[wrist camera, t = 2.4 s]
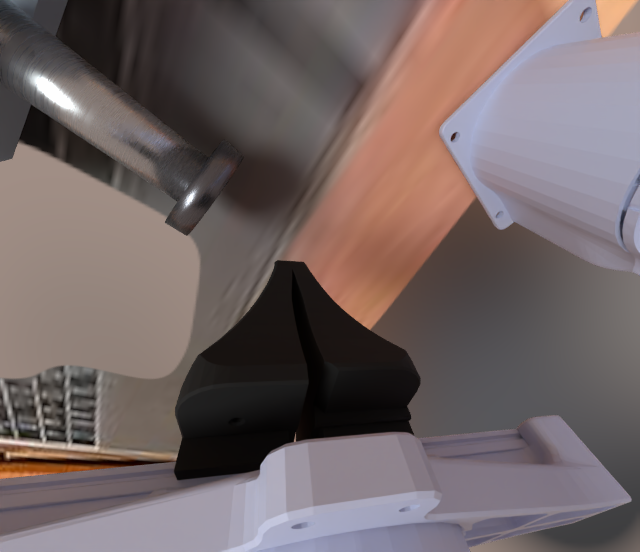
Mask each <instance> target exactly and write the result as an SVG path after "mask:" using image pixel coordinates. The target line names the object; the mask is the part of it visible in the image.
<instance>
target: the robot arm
mask: <svg viewBox="0 0 640 552" xmlns="http://www.w3.org/2000/svg"><path fill="white" fill-rule="evenodd" d="M583 11H584V13H583V17H582V19H581V20H580V16H581V14H582V12H583ZM453 133H456V136H455V138H454V140H452V141H451V136H452V134H453ZM439 135H440V137H441V139H442V141H443V142H444V144H445V145H446V147H447V149H448V150H449V152H450V154H451V155H452V157H453V159H454V160H455V162H456V163H457V165H458V167H459V168H460V170H461V172H462V173H463V175H464V177H465V178H466V180H467V181H468V183H469V185H470V186H471V188H472V190H473V191H474V193H475V195H476V196H477V198H478V199H479V201H480V203H481V204H482V206H483V207H484V209H485V211H486V212H487V214H488V216H489V217H490V219H491V221H492V222H493V224H494V226H495V227H496V228H498V229H500V230H502V229H505V228H507V227H508V226H509V225H511V224H512V223H513V222H516V223H518V224H520V225H521V226H524V227H525V228H527V229H529V230H531V231H532V232H534V233H536V234H538V235H539V236H541V237H543V238H545V239H547V240H549V241H550V242H552V243H554V244H556V245H558V246H559V247H561V248H563V249H565V250H567V251H569V252H570V253H572V254H574V255H576V256H578V257H579V258H581V259H583V260H585V261H587V262H589V263H591V264H594V265H596V266H599V267H603V268H607V269H612V270H618V271H627V272H633V273H635V274H637V275H639V276H640V32H635V33H628V34H622V35H616V36H610V37H603V38H602V37H601V31H600V25H599V19H598V13H597V7H596V1H595V0H568V1H567V2H566V3H565V4H564V5H563V6H562V7H561V8H560V9H559V10H558V11H557V12H556V13H555V14H554V15H553V16H552V17H551V18H550V19H549V20H548V21H547V22H546V23H545V24H544V25H543V26H542V27H541V28H540V29H539V30H538V31H537V32H536V33H535V34H534V35H533V36H532V37H531V38H530V39H529V40H528V41H526V42H525V43H524V44H523V45H522V46H521V47H520V48H519V49H518V50H517V51H516V52H515V53H514V54H513V55H512V56H511V57H510V58H509V59H508V60H507V61H506V62H505V63H504V64H503V65H502V66H501V67H500V68H499V69H498V70H497V71H496V72H495V73H494V74H493V75H492V76H491V77H490V78H489V79H488V80H487V81H486V82H485V83H484V84H482V85H481V86H480V87H479V88H478V89H477V90H476V91H475V92H474V93H473V94H472V95H471V96H470V97H469V98H468V99H467V100H466V101H465V102H464V103H463V104H462V105H461V106H460V107H459V108H458V109H457V110H456V111H455V112H454V113H453V114H452V115H451V116H450V117H449V118H448V119H447V120H446V121H445V122H444V123H443V124H442V125H441V127H440V130H439ZM498 212H499V214H498V215H497V213H498ZM496 215H497V216H496ZM419 386H420V376H419V374H418V372H417V370H416V368H415V366H414V364H413V362H412V360H411V358H410V357H409V355H408V353H407V352H406V351H405V350H404V349H402V348H400V347H398V346H396V345H394V344H392V343H391V342H389V341H387V340H385V339H383V338H381V337H380V336H378V335H377V334H375V333H373V332H372V331H370V330H369V329H367V328H366V327H364V326H363V325H362V324H360V323H359V322H358V321H356V320H355V319H354V318H352V317H351V316H350V315H349V314H347V313H346V312H345V311H344V310H343V309H342V308H341V307H340V306H339V305H337V304H336V303H335V302H334V301H333V300H332V298H331V297H330V296H329V295H328V294H327V293H326V292H325V290H324V289H323V288H322V287H321V285H320V284H319V283H318V282H317V280H316V279H315V277H314V276H313V275H312V273H311V272H310V270H309V269H308V267H307V266H306V264H305V263H304V262H296V261H279V260H277V261H276V262H275V266H274V270H273V272H272V275H271V277H270V279H269V281H268V283H267V285H266V287H265V288H264V290H263V292H262V293H261V295H260V296H259V298H258V299H257V301H256V302H255V303H254V305H253V306H252V307H251V309H250V310H249V311H248V312H247V313H246V314H245V316H244V317H243V318H242V319H241V320H240V321H239V322H238V323H237V324H236V325H235V326H234V327H233V328H232V329H231V330H229V331H228V332H227V333H226V334H225V335H224V336H223V337H222V338H220V339H219V340H218V341H217V342H215V343H214V344H213V345H211V346H210V347H209V348H207V349H206V350H205V351H203V352H202V353H201V354H199V355H198V356H197V358H196V360H195V361H194V363H193V365H192V367H191V368H190V370H189V372H188V374H187V376H186V379H185V381H184V383H183V385H182V388H181V391H180V394H179V397H178V401H177V404H176V407H175V416H176V419H177V422H178V425H179V428H180V431H181V435H182V441H181V445H180V449H179V453H178V457H177V460H176V462H170V463H160V464H150V465H139V466H129V467H119V468H109V469H98V470H88V471H78V472H67V473H57V474H47V475H37V476H26V477H16V478H6V479H0V552H470V549H469V547H472V546H477V545H480V544H485V543H489V542H493V541H497V540H501V539H505V538H509V537H513V536H517V535H521V534H526V533H530V532H535V531H539V530H543V529H548V528H552V527H557V526H562V525H566V524H571V523H574V522H576V521H580V520H582V519H584V518H587V517H590V516H593V515H596V514H598V513H601V512H604V511H606V510H609V509H612V508H614V507H617V506H620V505H623V504H625V503H628V502H630V501H631V497H630V496H629V495H628V494H627V492H626V491H625V490H624V489H623V488H622V487H621V486H620V484H619V483H618V482H617V481H616V480H615V479H614V478H613V476H612V475H611V474H610V473H609V472H608V471H607V470H606V468H605V467H604V466H603V465H602V464H601V463H600V462H599V460H598V459H597V458H596V457H595V456H594V455H593V454H592V453H591V451H590V450H589V449H588V448H587V447H586V446H585V444H584V443H583V442H582V441H581V440H580V439H579V438H578V437H577V436H576V434H575V433H574V432H573V431H572V430H571V428H570V427H569V426H568V425H567V424H566V423H565V422H564V421H563V419H562V418H561V417H560V416H558V415H550V416H539V417H533V418H530V419H527V420H525V421H524V422H523V423H521V424H520V425H519V426H518V428H517V429H509V430H499V431H488V432H478V433H468V434H457V435H448V436H437V437H427V438H416V437H415V436H414V433H413V431H412V429H411V426H410V424H409V420H410V419H411V415H410V412H409V410H408V408H407V405H408V404H409V402H410V401H411V399H412V398H413V396H414V395H415V393H416V392H417V390H418V388H419ZM295 433H296V442H294V438H295Z"/></svg>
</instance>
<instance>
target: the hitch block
mask: <svg viewBox="0 0 640 552" xmlns="http://www.w3.org/2000/svg"><path fill="white" fill-rule="evenodd" d="M10 1H11V2H13V3H14V4H15V5H16V6H18V7H19V8H20V9H21V10H23V11H24V12H25V13H27V14H28V15H29V16H30V17H32V18H33V19H34V20H35V21H37V22H38V23H39V24H40V25H42V26H43V27H44V28H45V29H47V30H48V31H49V32H50V33H52V34H53V35H54V36H56V33H57V30H58V27H59V24H60V21H61V19H62V16H63V13H64V10H65V7H66V4H67V2H68V0H10ZM30 107H31V104H30V103H28V102H27V101H25V100H24V99H22V98H21V97H19V96H18V95H16V94H14V93H13V92H11V91H10V90H8V89H7V88H5V87H4V86H2V85H1V84H0V162H1V161H5V160H9V159H12V157H13V155H14V152H15V149H16V146H17V144H18V141H19V138H20V135H21V132H22V129H23V126H24V124H25V121H26V118H27V115H28V112H29V109H30Z"/></svg>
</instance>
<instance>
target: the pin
mask: <svg viewBox="0 0 640 552" xmlns="http://www.w3.org/2000/svg"><path fill="white" fill-rule="evenodd" d="M0 84H1V85H2V86H4V87H5V88H7V89H8V90H10V91H11V92H13V93H14V94H16V95H18V96H19V97H21V98H22V99H24V100H25V101H27V102H28V103H30V104H31V105H33V106H34V107H36V108H37V109H39V110H40V111H42V112H43V113H45V114H46V115H48V116H49V117H51V118H52V119H54V120H55V121H57V122H58V123H60V124H61V125H63V126H64V127H66V128H67V129H69V130H70V131H72V132H73V133H75V134H76V135H78V136H79V137H81V138H82V139H84V140H86V141H87V142H89V143H90V144H92V145H93V146H95V147H96V148H98V149H99V150H101V151H102V152H104V153H105V154H107V155H108V156H110V157H111V158H113V159H114V160H116V161H117V162H119V163H120V164H122V165H123V166H125V167H126V168H128V169H129V170H131V171H132V172H134V173H135V174H137V175H138V176H140V177H141V178H143V179H144V180H146V181H147V182H149V183H150V184H152V185H153V186H155V187H157V188H158V189H160V190H161V191H163V192H164V193H166V194H167V195H169V196H170V197H172V198H173V199H175V200H176V201H178V202H177V204H176V205H175V207H174V208H173V210H172V211H171V213H170V214H169V216H168V217H167V219H166V221H165V223H167V224H168V225H170V226H171V227H173V228H175V229H176V230H178V231H179V232H181V233H183V234H184V235H186V236H187V235H188V234H189V233H190V232H191V231H192V230H193V229H194V227H195V226H196V225H197V224H198V222H199V221H200V220H201V218H202V217H203V216H204V214H205V213H206V212H207V210H208V209H209V208H210V206H211V205H212V204H213V202H214V201H215V199H216V198H217V197H218V195H219V194H220V192H221V191H222V190H223V188H224V187H225V185H226V184H227V182H228V181H229V180H230V178H231V177H232V175H233V174H234V172H235V171H236V169H237V168H238V166H239V164H240V163H241V161H242V160H243V158H244V156H243V155H242V154H241V153H240V152H239V151H238V150H236V149H235V148H234V147H233V146H232V145H231V144H229V143H228V142H227V141H226V140H225V139H224V140H223V141H222V142H221V143H220V145H219V146H218V147H217V148H216V150H215V151H214V152H213V153H212V155H211V156H210V157H209V158H208V157H206V156H205V155H204V154H203V153H201V152H200V151H199V150H197V149H196V148H195V147H194V146H192V145H191V144H190V143H189V142H187V141H186V140H185V139H184V138H182V137H181V136H180V135H179V134H177V133H176V132H175V131H174V130H172V129H171V128H170V127H169V126H167V125H166V124H165V123H164V122H162V121H161V120H160V119H159V118H157V117H156V116H155V115H153V114H152V113H151V112H150V111H148V110H147V109H146V108H145V107H143V106H142V105H141V104H140V103H138V102H137V101H136V100H135V99H133V98H132V97H131V96H130V95H128V94H127V93H126V92H125V91H123V90H122V89H121V88H120V87H118V86H117V85H116V84H115V83H113V82H112V81H111V80H109V79H108V78H107V77H106V76H104V75H103V74H102V73H101V72H99V71H98V70H97V69H96V68H94V67H93V66H92V65H91V64H89V63H88V62H87V61H86V60H84V59H83V58H82V57H81V56H79V55H78V54H77V53H76V52H74V51H73V50H72V49H71V48H69V47H68V46H67V45H65V44H64V43H63V42H62V41H60V40H59V39H58V38H57V37H55V36H54V35H53V34H52V33H50V32H49V31H48V30H47V29H45V28H44V27H43V26H42V25H40V24H39V23H38V22H37V21H35V20H34V19H33V18H32V17H30V16H29V15H28V14H27V13H25V12H24V11H23V10H21V9H20V8H19V7H18V6H16V5H15V4H14V3H13V2H11V1H10V0H0Z"/></svg>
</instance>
